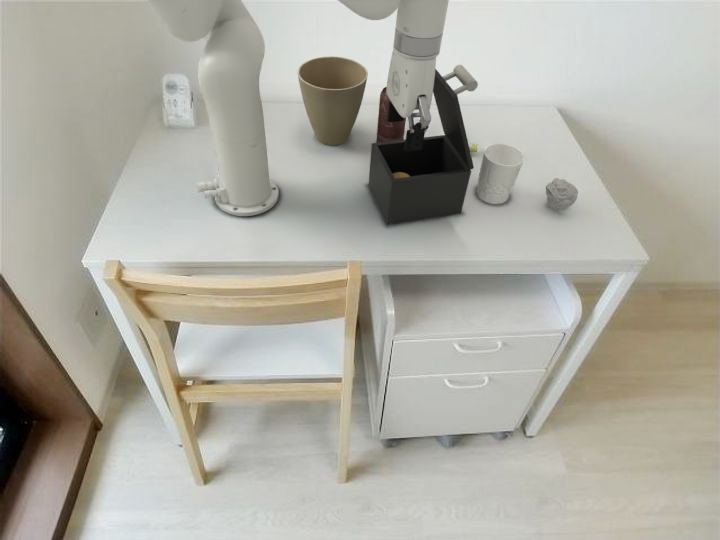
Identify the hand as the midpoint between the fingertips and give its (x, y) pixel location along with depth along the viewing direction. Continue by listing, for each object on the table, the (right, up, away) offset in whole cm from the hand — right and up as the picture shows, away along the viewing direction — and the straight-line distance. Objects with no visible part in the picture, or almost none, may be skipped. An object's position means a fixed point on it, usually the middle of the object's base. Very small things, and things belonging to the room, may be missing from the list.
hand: (403, 134), depth 95 cm
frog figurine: (+32, -12, +13) cm, 37 cm away
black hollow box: (+3, -10, +12) cm, 16 cm away
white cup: (+20, -9, +15) cm, 26 cm away
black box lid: (+8, +3, 0) cm, 9 cm away
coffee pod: (0, -10, +11) cm, 15 cm away
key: (+12, +3, +25) cm, 28 cm away
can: (-1, +3, +25) cm, 25 cm away
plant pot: (-15, +6, +27) cm, 31 cm away
